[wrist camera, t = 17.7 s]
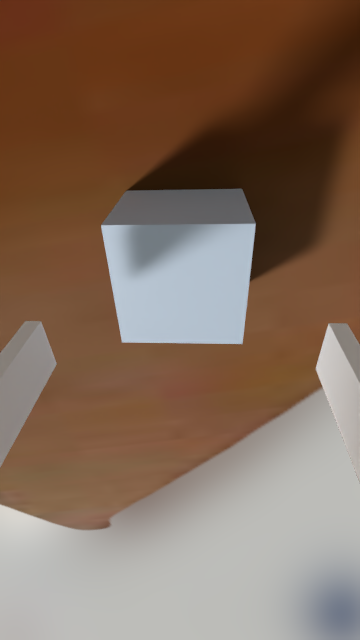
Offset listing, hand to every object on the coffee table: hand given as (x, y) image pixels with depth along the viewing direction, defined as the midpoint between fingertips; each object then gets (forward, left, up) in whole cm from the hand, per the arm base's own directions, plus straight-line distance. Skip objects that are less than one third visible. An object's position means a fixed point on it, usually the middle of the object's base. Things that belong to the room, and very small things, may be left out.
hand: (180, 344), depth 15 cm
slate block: (0, 0, -12) cm, 12 cm away
